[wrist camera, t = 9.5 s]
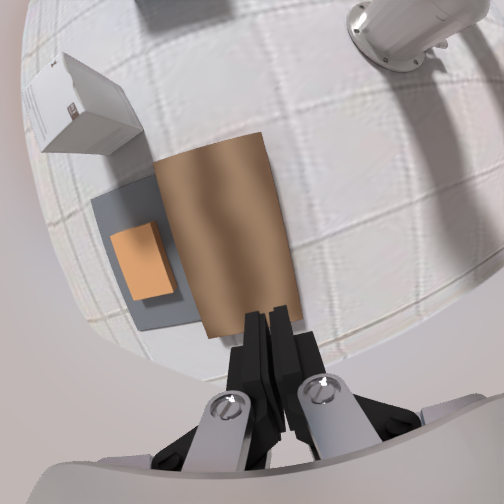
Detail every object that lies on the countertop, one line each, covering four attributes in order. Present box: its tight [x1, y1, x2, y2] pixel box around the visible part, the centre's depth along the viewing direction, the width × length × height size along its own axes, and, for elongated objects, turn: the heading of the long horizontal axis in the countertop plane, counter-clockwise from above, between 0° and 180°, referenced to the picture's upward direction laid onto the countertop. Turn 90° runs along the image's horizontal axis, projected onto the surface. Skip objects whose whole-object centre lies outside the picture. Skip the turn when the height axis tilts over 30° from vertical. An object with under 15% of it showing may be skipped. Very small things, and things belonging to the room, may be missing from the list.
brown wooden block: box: [153, 132, 303, 339], centre depth 31 cm, size 12×22×4 cm, turn 14°
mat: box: [91, 175, 201, 331], centre depth 34 cm, size 11×20×1 cm, turn 14°
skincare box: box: [22, 51, 143, 155], centre depth 22 cm, size 8×6×15 cm
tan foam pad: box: [110, 220, 177, 301], centre depth 33 cm, size 9×6×2 cm, turn 14°
